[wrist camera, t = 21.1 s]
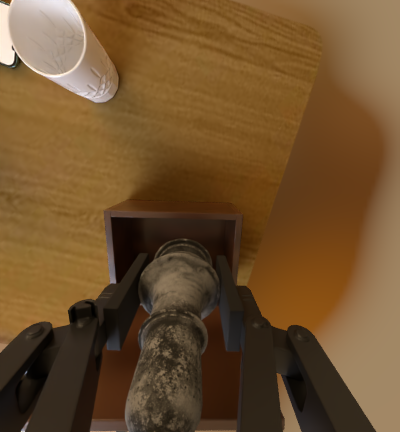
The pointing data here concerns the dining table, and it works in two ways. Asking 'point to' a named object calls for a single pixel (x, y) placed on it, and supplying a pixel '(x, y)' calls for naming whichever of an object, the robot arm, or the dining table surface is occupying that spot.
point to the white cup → (61, 47)
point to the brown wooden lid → (211, 380)
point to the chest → (170, 231)
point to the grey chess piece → (172, 339)
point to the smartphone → (6, 40)
